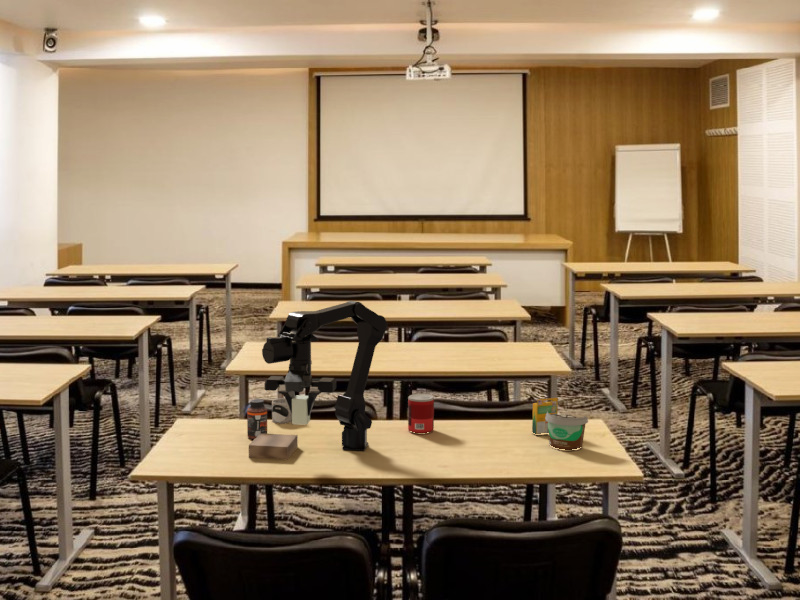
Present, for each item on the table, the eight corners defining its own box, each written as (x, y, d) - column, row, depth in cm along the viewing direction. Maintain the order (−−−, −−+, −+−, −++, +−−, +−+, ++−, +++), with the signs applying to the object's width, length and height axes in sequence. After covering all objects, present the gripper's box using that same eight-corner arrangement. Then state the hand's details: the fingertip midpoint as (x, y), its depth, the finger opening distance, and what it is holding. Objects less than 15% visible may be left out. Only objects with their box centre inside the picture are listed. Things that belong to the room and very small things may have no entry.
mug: (268, 423, 251) (268, 402, 250) (276, 417, 257) (276, 397, 256) (298, 425, 249) (298, 404, 248) (305, 419, 255) (305, 399, 254)
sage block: (310, 420, 215) (309, 395, 214) (306, 424, 211) (306, 399, 210) (295, 420, 215) (295, 395, 214) (292, 424, 211) (291, 398, 210)
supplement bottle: (263, 440, 232) (262, 403, 231) (244, 439, 234) (243, 402, 232) (270, 434, 238) (269, 398, 237) (252, 433, 239) (251, 397, 238)
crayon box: (552, 431, 244) (553, 395, 242) (557, 434, 241) (558, 397, 239) (531, 433, 241) (532, 397, 240) (536, 436, 238) (537, 399, 237)
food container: (541, 449, 226) (542, 416, 225) (544, 443, 232) (545, 410, 230) (584, 454, 222) (585, 420, 220) (587, 448, 227) (588, 414, 226)
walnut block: (297, 448, 227) (297, 435, 226) (287, 461, 216) (287, 447, 215) (260, 446, 228) (260, 433, 227) (248, 459, 217) (248, 445, 217)
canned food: (438, 432, 242) (439, 397, 241) (417, 436, 238) (417, 401, 236) (424, 426, 249) (424, 392, 247) (403, 430, 244) (403, 395, 243)
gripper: (257, 363, 204) (258, 422, 206) (328, 366, 202) (328, 424, 204) (270, 355, 215) (270, 410, 217) (336, 357, 213) (337, 413, 215)
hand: (301, 415), depth 213 cm, fingers closed on sage block, 4 cm apart
